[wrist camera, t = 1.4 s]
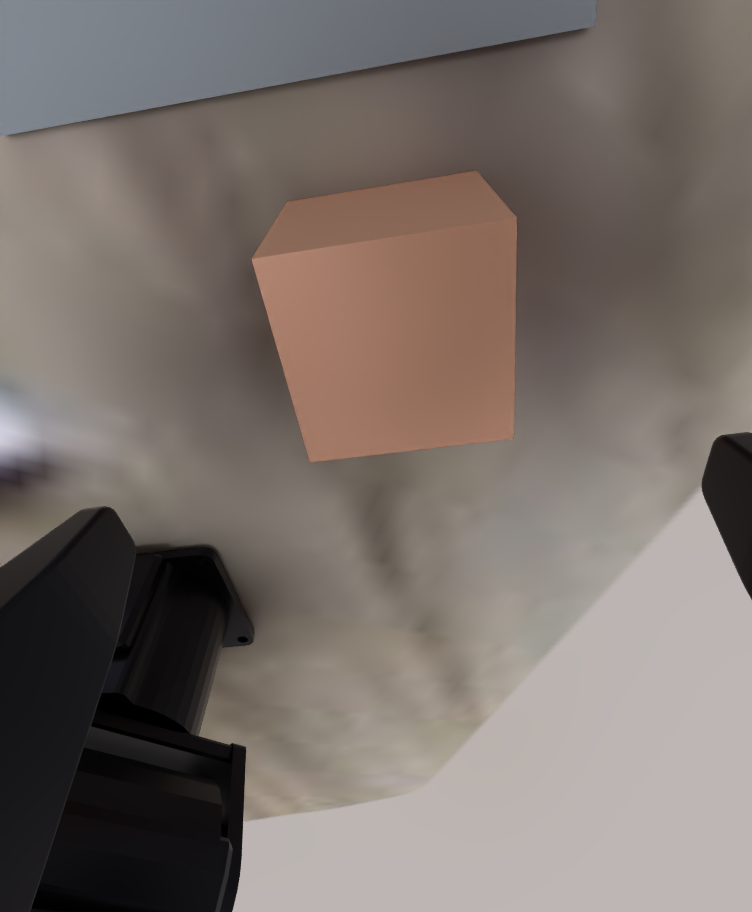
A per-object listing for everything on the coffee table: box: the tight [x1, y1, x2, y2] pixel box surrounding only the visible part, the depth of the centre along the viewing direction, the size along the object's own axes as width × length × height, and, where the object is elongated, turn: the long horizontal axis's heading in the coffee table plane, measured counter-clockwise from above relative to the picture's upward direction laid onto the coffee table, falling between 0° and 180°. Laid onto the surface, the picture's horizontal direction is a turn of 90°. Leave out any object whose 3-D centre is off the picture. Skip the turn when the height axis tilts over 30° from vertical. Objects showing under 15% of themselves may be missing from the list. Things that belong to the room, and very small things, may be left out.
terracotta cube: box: [252, 170, 517, 463], centre depth 13 cm, size 5×5×5 cm
